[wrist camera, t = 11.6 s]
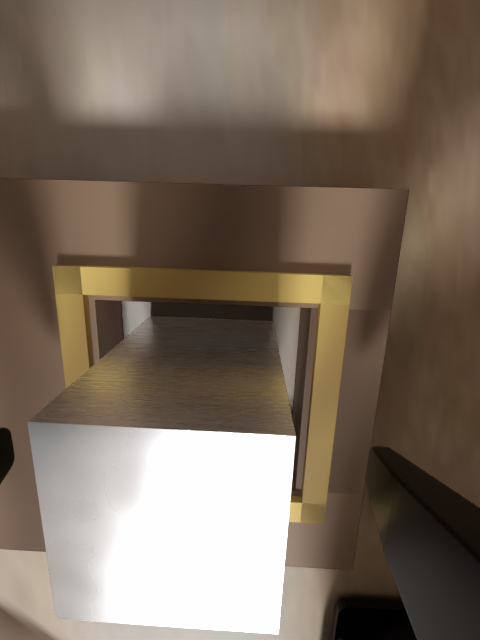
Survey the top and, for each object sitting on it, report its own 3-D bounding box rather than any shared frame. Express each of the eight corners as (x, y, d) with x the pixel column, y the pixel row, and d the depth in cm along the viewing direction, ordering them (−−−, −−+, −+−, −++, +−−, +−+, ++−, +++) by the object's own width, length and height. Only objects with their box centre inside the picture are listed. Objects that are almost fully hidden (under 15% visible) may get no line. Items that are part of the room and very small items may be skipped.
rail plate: (382, 196, 11) (414, 188, 9) (339, 524, 14) (354, 578, 12) (-274, 177, 12) (-398, 166, 9) (-167, 495, 15) (-239, 542, 13)
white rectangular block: (272, 321, 12) (296, 436, 6) (266, 429, 13) (278, 634, 7) (150, 315, 12) (27, 421, 6) (154, 423, 14) (55, 618, 7)
